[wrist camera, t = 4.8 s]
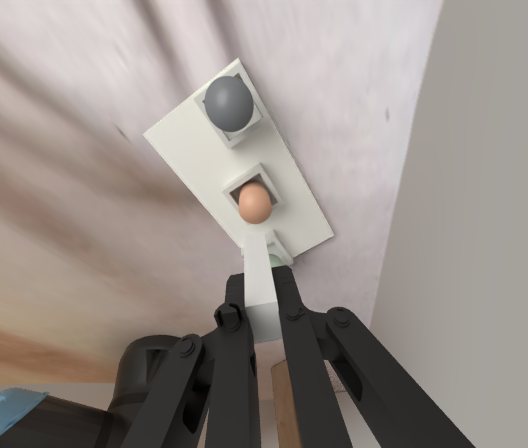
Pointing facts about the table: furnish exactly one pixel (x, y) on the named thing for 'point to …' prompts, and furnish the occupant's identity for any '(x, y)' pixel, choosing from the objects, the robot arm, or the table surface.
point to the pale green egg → (274, 260)
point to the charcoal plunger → (229, 104)
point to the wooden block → (285, 408)
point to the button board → (241, 171)
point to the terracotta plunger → (254, 202)
